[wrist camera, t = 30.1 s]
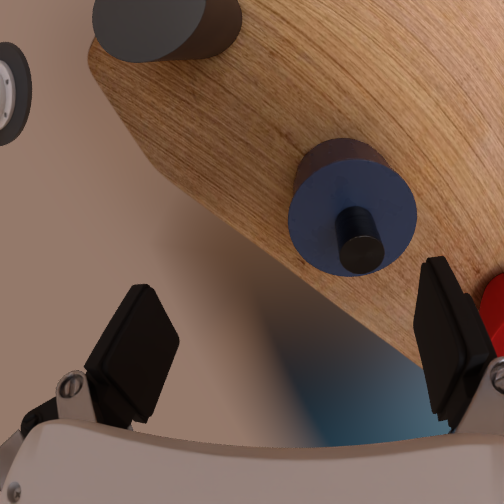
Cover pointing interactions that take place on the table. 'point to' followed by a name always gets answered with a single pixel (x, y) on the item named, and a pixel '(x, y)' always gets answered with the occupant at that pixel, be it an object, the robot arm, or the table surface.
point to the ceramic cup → (494, 312)
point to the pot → (334, 156)
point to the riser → (165, 28)
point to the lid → (352, 217)
